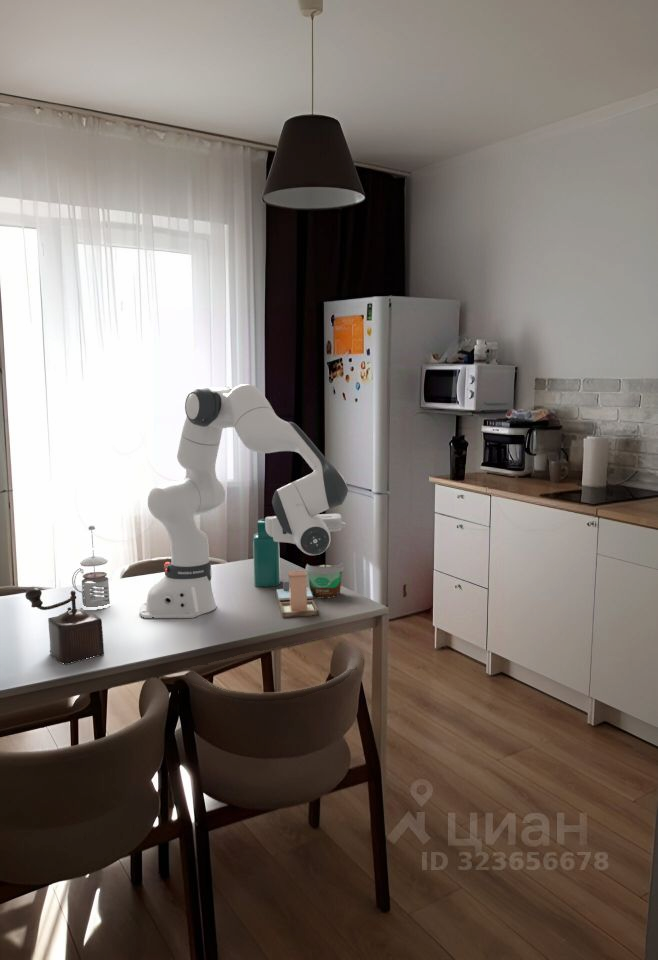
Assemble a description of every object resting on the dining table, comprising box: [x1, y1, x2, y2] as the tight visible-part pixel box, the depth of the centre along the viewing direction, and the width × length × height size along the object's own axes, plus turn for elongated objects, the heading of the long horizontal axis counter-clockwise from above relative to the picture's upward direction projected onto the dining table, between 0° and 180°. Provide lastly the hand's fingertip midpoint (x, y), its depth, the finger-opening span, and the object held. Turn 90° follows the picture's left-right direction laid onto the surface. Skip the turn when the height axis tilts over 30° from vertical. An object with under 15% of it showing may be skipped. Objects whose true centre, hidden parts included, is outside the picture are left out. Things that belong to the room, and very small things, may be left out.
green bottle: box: [252, 518, 281, 588], centre depth 244 cm, size 10×8×22 cm
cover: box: [276, 579, 314, 600], centre depth 227 cm, size 10×10×4 cm
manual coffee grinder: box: [24, 587, 105, 665], centre depth 183 cm, size 16×11×18 cm
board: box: [275, 591, 319, 619], centre depth 221 cm, size 10×21×1 cm, turn 9°
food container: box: [304, 562, 345, 599], centre depth 230 cm, size 12×6×10 cm, turn 92°
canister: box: [287, 569, 308, 612], centre depth 215 cm, size 5×5×11 cm
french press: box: [71, 525, 111, 607], centre depth 223 cm, size 10×12×25 cm
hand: (300, 518), depth 200 cm, fingers open, 8 cm apart
